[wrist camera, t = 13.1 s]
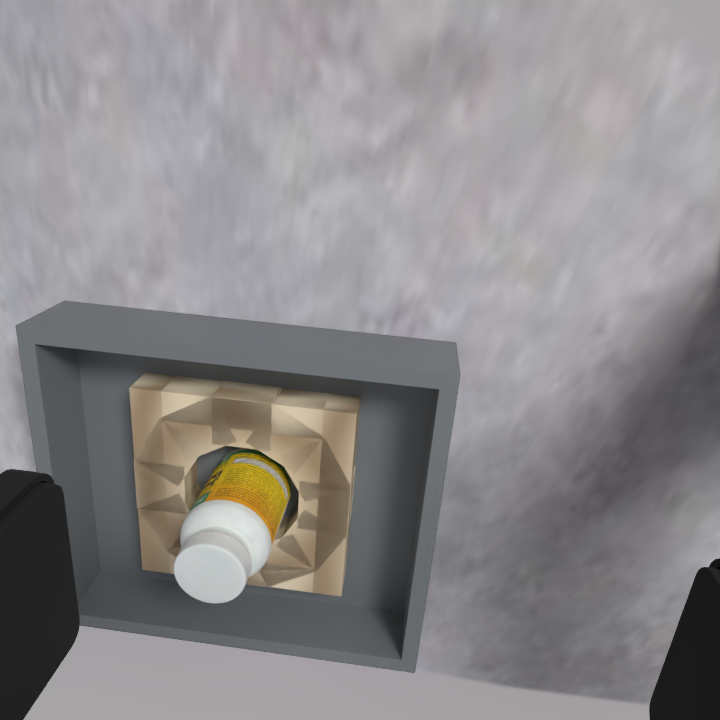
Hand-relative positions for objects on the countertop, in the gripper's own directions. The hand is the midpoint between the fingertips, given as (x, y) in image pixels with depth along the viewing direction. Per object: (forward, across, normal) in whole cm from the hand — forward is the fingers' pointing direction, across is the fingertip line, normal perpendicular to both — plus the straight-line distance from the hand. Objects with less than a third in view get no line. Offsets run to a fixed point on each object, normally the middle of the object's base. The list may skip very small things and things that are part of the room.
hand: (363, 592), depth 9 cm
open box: (+28, +9, +17) cm, 34 cm away
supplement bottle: (+28, +9, +17) cm, 34 cm away
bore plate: (+28, +9, +17) cm, 34 cm away
